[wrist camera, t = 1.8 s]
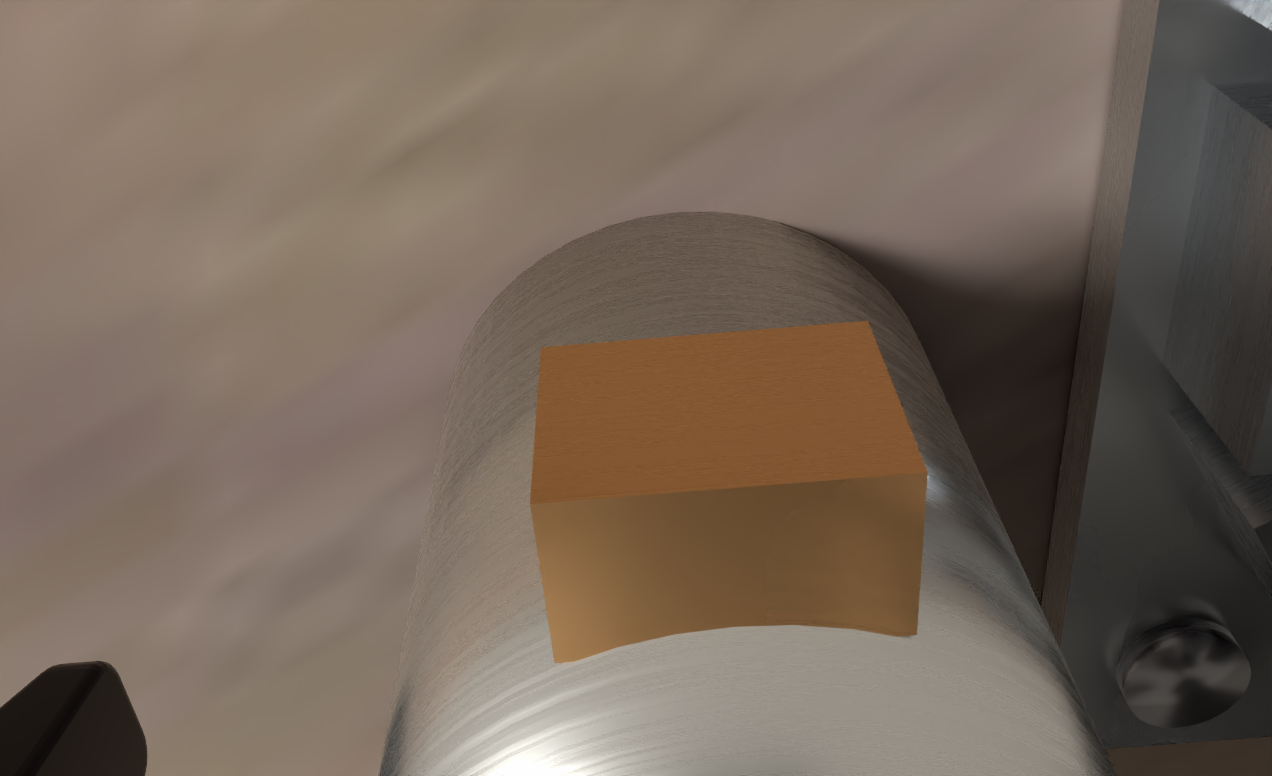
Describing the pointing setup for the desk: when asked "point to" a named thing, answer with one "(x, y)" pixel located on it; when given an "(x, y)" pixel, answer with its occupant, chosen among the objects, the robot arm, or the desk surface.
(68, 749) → the robot arm
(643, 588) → the silver metal cylinder
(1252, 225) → the duct flange
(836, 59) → the desk surface
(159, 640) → the desk surface
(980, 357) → the desk surface
